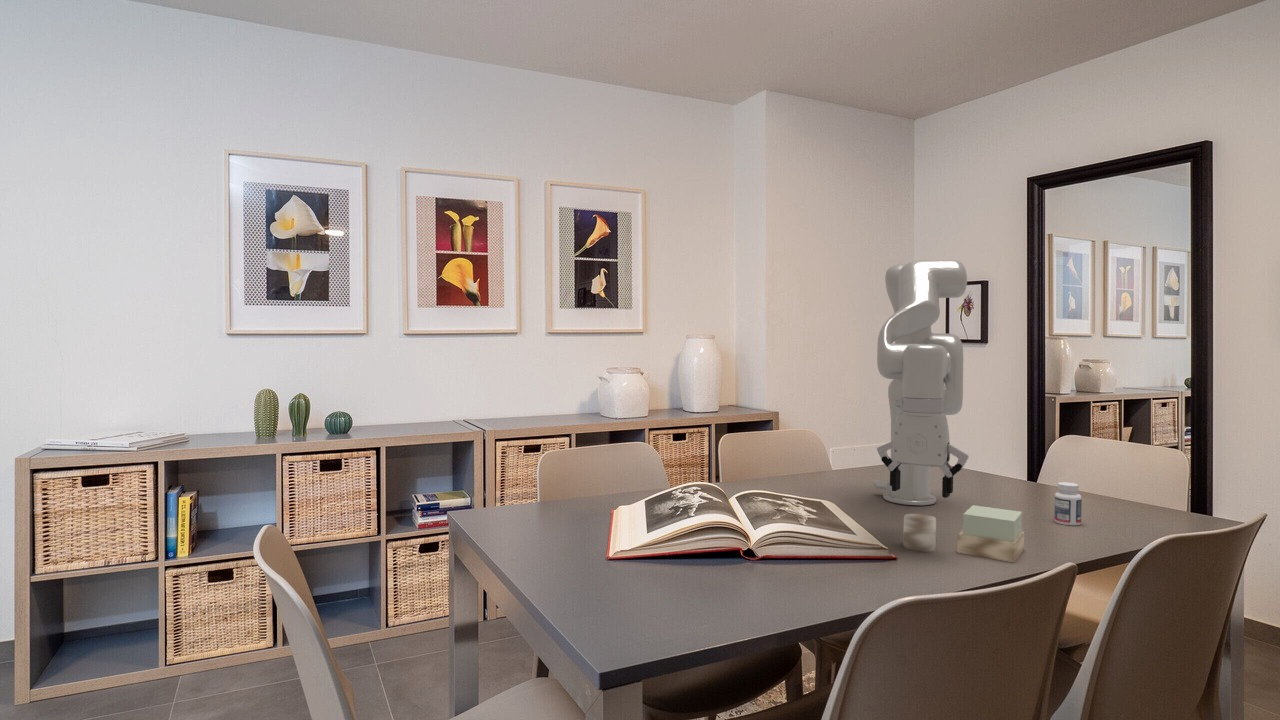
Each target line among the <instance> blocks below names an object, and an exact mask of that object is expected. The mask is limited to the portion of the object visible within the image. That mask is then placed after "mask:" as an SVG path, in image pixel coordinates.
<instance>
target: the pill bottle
mask: <svg viewBox="0 0 1280 720" xmlns="http://www.w3.org/2000/svg"><path fill="white" fill-rule="evenodd" d="M1057 489H1058V491H1057V492H1055V494H1054V515H1053V516H1054V517H1053V518H1054V519H1053V520H1054V522H1055V523H1056V524H1059V525H1064V526H1079V525H1081V524H1082V511H1083V510H1082V505H1083V499H1082V495H1081V494H1080V493H1078V492H1079V484H1077V483H1076V482H1075V483H1074V482H1067V481H1066V482H1065V481H1062V482H1058V484H1057Z"/></svg>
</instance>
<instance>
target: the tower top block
mask: <svg viewBox="0 0 1280 720" xmlns="http://www.w3.org/2000/svg"><path fill="white" fill-rule="evenodd" d="M1022 523H1023V511H1020V510H1019V511H1018V510H1010V509H1004V508H1003V509H1002V508H997V507H989V506H981V505H976V504H975V505H974V504H973V505H972V506H970V507H969V508H968V509H967V510H966V511H965V512H964V513H963V514H962V530H963V534H964V535H970V536H976V537H983V538H989V539H995V540H1002V541H1008V542H1015V540H1016V539H1017V538H1018V536H1019V535H1020V533H1021V532H1023V526H1022V525H1023V524H1022Z"/></svg>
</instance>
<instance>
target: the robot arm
mask: <svg viewBox="0 0 1280 720" xmlns="http://www.w3.org/2000/svg"><path fill="white" fill-rule="evenodd" d="M884 278H885V280H884V282H885V288H886V293H887V295H888V298H889V301H890V304H891V306H892V309H893V314H892V315H891V316H889V318H888V319H886V321H885V323H884V324H883V325H882V327H881V329H880V331H879V333H878V337H877V348H876V351H877V353H876V354H877V356H876V363H877V370H878V372H879V374H880V376H881V377H883V378H885V379H889V380H891V381H890V383H889V385H888V389H887V390H888V391H887V395H888V396H887V397H888V405H889V411H890V442H888V443H885V444H883V445H881V446H878V447H877V448H876V451H877V453H878V455H879V457H880V459H881V462H882V463H883V464H884V465H885V466H886V468H887V470H888V471H889V479H887V480H886V481H883V480H880V479H875V480H874V482H873V486H874V488H875V489H879V490H884V491H885V492H884V493H883V494H882V495H883V497H882V498H883V499H884V500H885V501H888V502H891V503H893V504H898V505H905V506H906V505H908V506H929V505H930V506H931V505H934V504H936V503H937V497H936V496H935V495H933V494H931V493H930V492H931V491H930V488H931V487H930V486H931V485H930V484H931V467H934V468H939V469H940V470H941V471H942V473H943V474H944V476H943V477H942V479H941V480H942V484H941V485H942V486H941V487H942V488H941V489H942V491H941V497H943V498H944V499H945V498H946V499H947V498H949V497H950V496H951V494H953V491H954V476H955V475H956V474H958V473H959V472H960V471H962V470H963V469H964V466H965V465H966V463H967V461H968V460H969V458H970V456H969V455H968V454H967V453H965V452H963V451H962V450H960V449H958V448H957V447H955V446H953V445H952V444H951V442H950V431H949V430H950V429H949V425H948V424H949V423H948V418H947V416H954V415H957V414H959V413H960V411H961V410H962V407H963V400H964V399H963V398H964V348H963V347H964V346H963V342H962V340H961V339H960V337H959V336H958V335H956V334H955V333H954V334H952V333H944V332H943V333H935V332H932V326H933V325H934V324H935V323H936V322H937V321H938V319H939V318H940V314H941V308H940V307H941V306H940V299H943V298H944V299H948V298H949V299H953V298H954V299H955V298H960V297H962V296H963V295H964V294H965V293H966V289H967V286H968V274H967V270H966V267H965V265H964V264H963V263H962V262H961V261H960V260H956V259H940V260H939V259H934V260H933V259H929V260H927V259H926V260H914V261H910V262H907V263H900V264H895V265H892V266H890V267H888V268H887V270H886V271H885V275H884ZM889 450H890V456H889V455H888V451H889ZM951 455H952V456H954V457H956V458H957V459H958V460H957V462H956V464H955V465H953V466H952V465H951V464H950V459H951Z"/></svg>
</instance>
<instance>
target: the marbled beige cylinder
mask: <svg viewBox="0 0 1280 720" xmlns="http://www.w3.org/2000/svg"><path fill="white" fill-rule="evenodd" d="M902 536H903V537H902V538H903V539H902V541H903V543H902V546H903V548H905V549H907V550H910V551H915V552H921V553H922V552H924V553H925V552H926V553H927V552H934V551H936V545H937V544H936V542H937V541H936V538H937V518H936V517H935V516H933V515H929V514H923V513H907V514H904V515H903V535H902Z"/></svg>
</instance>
